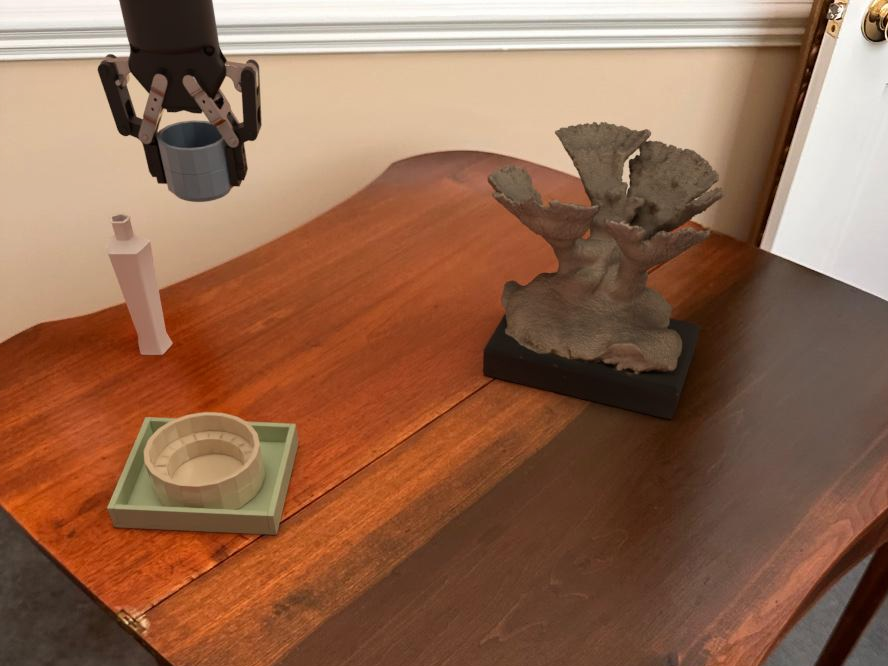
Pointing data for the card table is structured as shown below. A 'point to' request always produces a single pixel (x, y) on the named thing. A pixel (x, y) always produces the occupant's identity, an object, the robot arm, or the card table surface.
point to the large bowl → (205, 462)
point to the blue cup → (194, 161)
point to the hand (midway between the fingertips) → (200, 181)
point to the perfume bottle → (138, 284)
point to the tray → (258, 516)
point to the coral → (604, 273)
